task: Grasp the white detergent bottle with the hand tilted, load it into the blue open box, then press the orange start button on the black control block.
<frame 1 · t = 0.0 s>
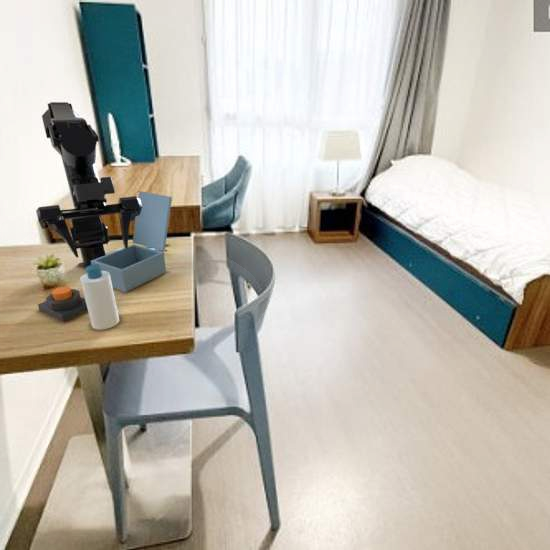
hand: (102, 252, 74), 15 cm above the table, tool tilted 35°, fingers open, 9 cm apart
control block: (66, 309, 82), on the table
blue-grey box lid: (151, 220, 99), point 13 cm above the table, hinge at 110.0°
start button: (62, 293, 80), point 4 cm above the table, slide at 0.2 cm
surgical mask: (135, 254, 112), on the table, touching arm
blue open box: (131, 276, 97), on the table
detergent bottle: (105, 322, 78), on the table
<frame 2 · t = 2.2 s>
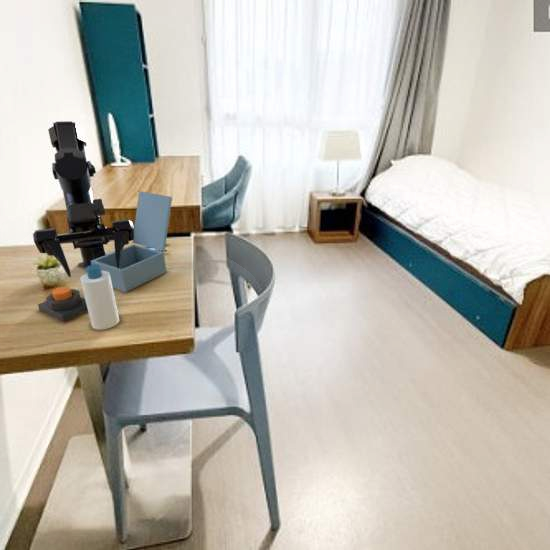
hand: (94, 271, 76), 10 cm above the table, tool tilted 45°, fingers open, 9 cm apart
nothing on the table moved.
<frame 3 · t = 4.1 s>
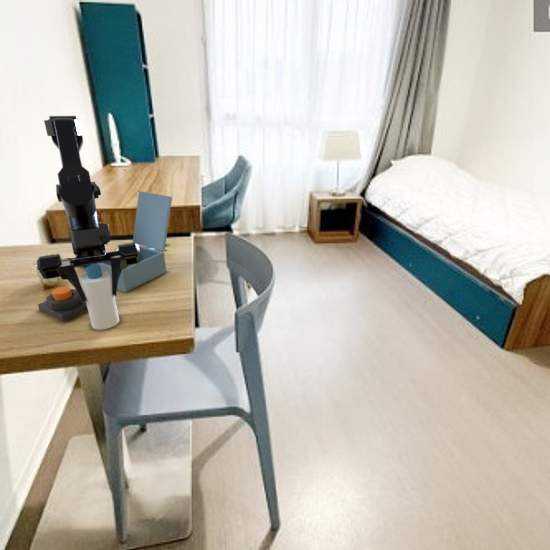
hand: (100, 298, 74), 7 cm above the table, tool tilted 45°, fingers closed on detergent bottle, 5 cm apart
detergent bottle: (105, 322, 78), on the table, touching gripper
everything else where it was.
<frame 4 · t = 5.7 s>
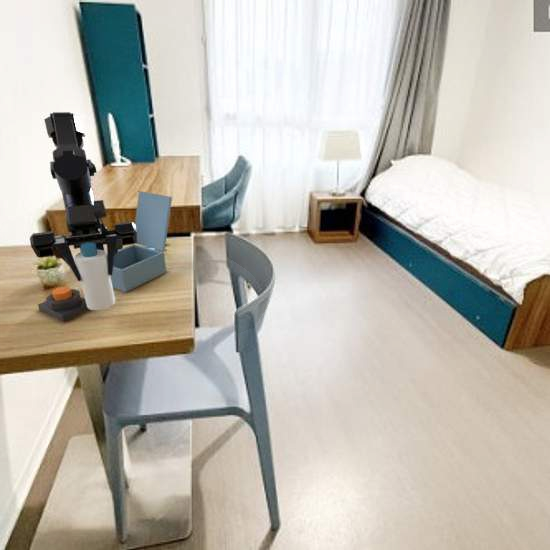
hand: (95, 277, 72), 11 cm above the table, tool tilted 45°, fingers closed on detergent bottle, 5 cm apart
detergent bottle: (101, 303, 76), point 5 cm above the table, touching gripper
everything else where it was.
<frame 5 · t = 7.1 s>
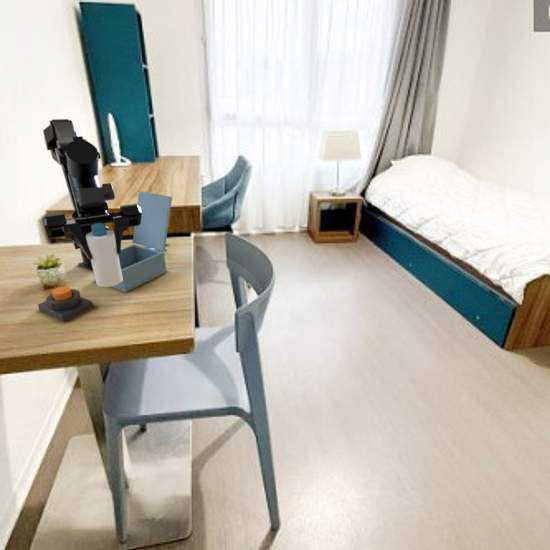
hand: (105, 256, 77), 13 cm above the table, tool tilted 45°, fingers closed on detergent bottle, 5 cm apart
detergent bottle: (109, 281, 81), point 7 cm above the table, touching gripper
everything else where it was.
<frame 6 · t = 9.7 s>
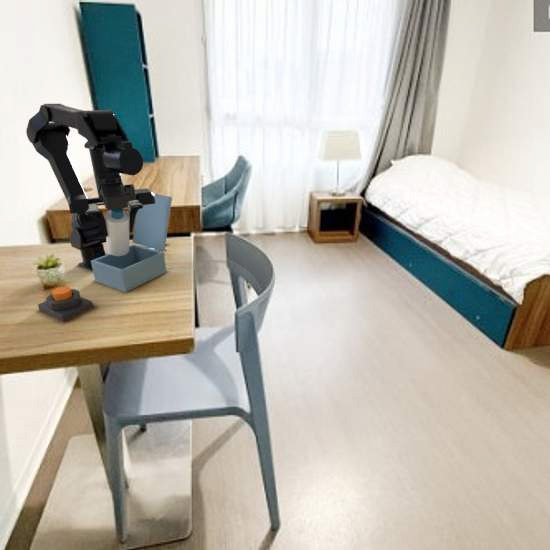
hand: (118, 234, 91), 12 cm above the table, tool pointing down, fingers closed on detergent bottle, 5 cm apart
detergent bottle: (118, 249, 96), point 7 cm above the table, tilted 24°, touching gripper
everything else where it was.
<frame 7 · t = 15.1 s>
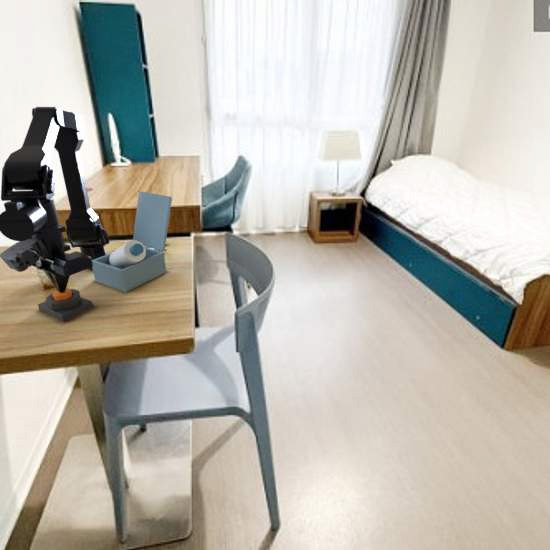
hand: (62, 291, 80), 4 cm above the table, tool pointing down, fingers closed, pressing on start button
start button: (62, 295, 81), point 4 cm above the table, slide at -0.3 cm, touching gripper
detergent bottle: (119, 260, 97), point 4 cm above the table, tilted 60°, touching blue open box
everything else where it was.
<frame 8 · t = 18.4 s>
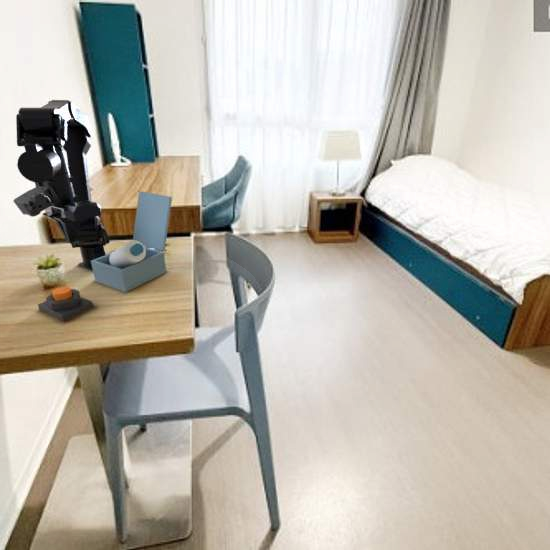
hand: (71, 242, 84), 13 cm above the table, tool pointing down, fingers closed
start button: (62, 293, 80), point 4 cm above the table, slide at 0.2 cm
everything else where it was.
at the end: detergent bottle inside the target area in the blue open box (3.6 cm from its centre), point 3.9 cm above the blue open box's base; start button pushed in 1.1 cm at the most during the clip, back to 0.2 cm at the end; start button slide at 0.2 cm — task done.
